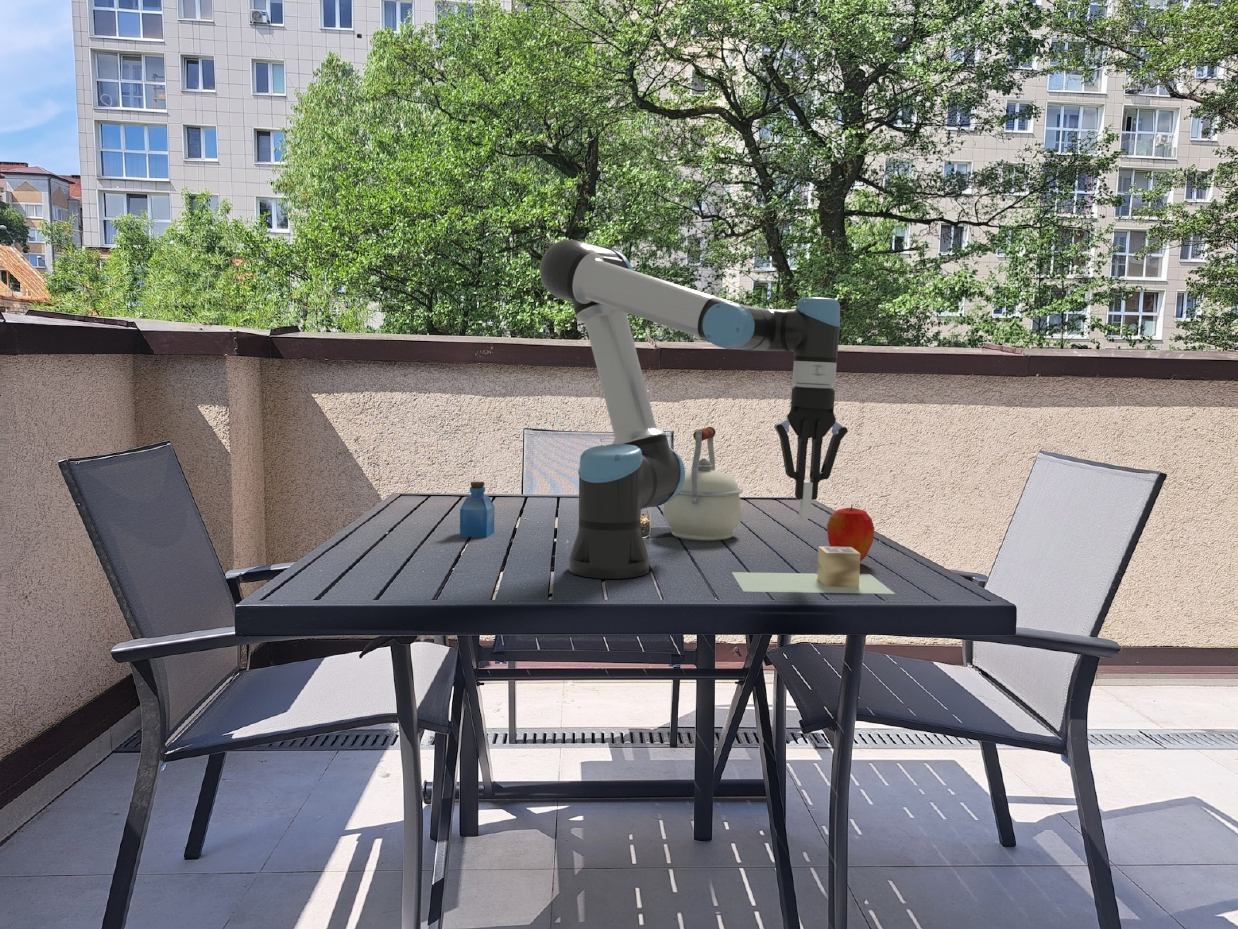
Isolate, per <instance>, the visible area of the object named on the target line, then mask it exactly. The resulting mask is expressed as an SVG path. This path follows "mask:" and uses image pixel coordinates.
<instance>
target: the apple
mask: <svg viewBox="0 0 1238 929" xmlns="http://www.w3.org/2000/svg"><path fill="white" fill-rule="evenodd" d="M826 531H827V532H826V533H827V540H828V544H829V547H852V548H854V549H855V550H856V551H858V552H859V553H860V563H861V562H862V561H863V560H864V559H865V558H866V557H867V555H868V553H869V551H870V549H871V547H872V544H873V543H874V536H875V534H874V533H875V526H874V523H873V519H872V518H871V516H870V515H869V514H868V512H867V511H866V510H864V509H859V508H856V507H853V504H852V503H851V507H846V508H844V507H843V508H841V509H837V510H836V511H835V512H833V513H832V514H831V515H830V517H829V519H828V522H827V524H826Z"/></svg>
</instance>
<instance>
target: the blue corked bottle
mask: <svg viewBox="0 0 1238 929" xmlns="http://www.w3.org/2000/svg"><path fill="white" fill-rule="evenodd" d="M485 492H486V487H485V481H470V487H469V493H470V495H469V496H467V497H466V498H465V499H464V501H463V503H462V505H461V506H460V509H459V537H464V538H465V537H468V538H484V537H485V539H486V538H489V537H490V536H492V535H493V534H495V505H494V502H492V500H491V498H490V496H489V495H485Z"/></svg>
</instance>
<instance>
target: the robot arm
mask: <svg viewBox="0 0 1238 929" xmlns="http://www.w3.org/2000/svg"><path fill="white" fill-rule="evenodd" d="M539 265H540V266H539V274H540V279H541V282H542V284H543V286H544V288H545V289H546V290H547V292H549V293H550V295H552V296H554V297H556V298H558V299H561V300H564V301H568V302H571V303H572V307H573V311H574V314H575V318H576V320H578V321H579V322H581V323H583V324H584V325H585V327H586V331H587V334H588V339H589V343H590V347H591V350H592V353H593V359H594V363H595V366H596V370H597V373H598V378H599V381H600V386H601V389H602V393H603V397H604V401H605V404H606V409H607V413H608V416H609V419H610V424H611V428H612V433H613V436H614V439H613V442H612V443H609V444H606V445H596V446H593V447H590V448H587V449H585V450H584V451H583V452H581V454H580V457H579V466H578V474H577V475H578V530H577V533H576V536H575V539H574V543H573V545H572V548H571V552H570V555H569V557H568V558H569V559H568V572H570V573H571V574H573V575H576V576H581V577H587V578H592V579H604V580H605V579H607V580H608V579H609V580H610V579H611V580H613V579H615V580H616V579H617V580H619V579H630V578H637V577H641V576H644V575H647V574H648V573H649V572H650V571H649V570H650V558H649V554H648V552H647V548H646V545H645V543H644V542H645V541H644V538H643V535H642V530H641V524H642V523H641V520H642V518H641V517H642V514H641V512H642V510H643V509H648V508H655V507H660V506H662V505H663V506H664V503H666V502H669V501H670V500H672V499H673V498H675V497H676V496H677V495H678V493H679V492H680V490H681V488H682V486H683V484H684V480H685V471H686V468H685V467H686V466H685V464H684V462H683V459H682V457H681V455H679V453H677V452H676V451H675V450H674V449H672V448H671V447H670V445H669V440H668V437H667V433H666V432H664V431H663V430H661V429H659V428H658V427H657V425H656V420H655V417H654V414H653V409H652V406H651V402H650V397H649V393H648V390H647V387H646V382H645V379H644V376H643V371H642V368H641V367H642V366H641V364H640V361H639V356H638V353H637V352H638V351H637V347H636V345H635V341H634V338H633V333H632V329H631V326H630V322H629V317H628V314H629V315H631V316H635V317H638V318H641V319H645V320H647V321H650V322H654V323H656V324H659V325H661V326H662V325H663V326H665V327H669V328H670V329H674V330H676V331H679V332H682V333H683V332H684V333H685V334H689V335H692V336H695V337H698V338H700V339H703V340H704V341H705V340H706V341H708V342H710V343H711V344H712V345H714V346H716V347H718V348H723V349H725V350H736V349H737V350H742V351H746V352H747V351H748V352H758V351H759V352H761V351H762V352H763V351H764V352H791V353H792V352H793V354H794V355H793V366H792V367H793V368H792V384H795V386H793V387H792V388H791V397H790V410H789V412H788V414H787V417H786V419H785V420H783V421H781V422H780V423H775V424H774V427H773V428H774V429H775V431H776V433H777V434H778V436H779V441H780V442H779V443H780V447H781V448H780V449H781V453H782V454H781V455H782V458H783V464H784V472H785V475H786V476H787V477H788V478H791V479H794V481H795V484H794V486H795V488H794V489H795V490H794V496H795V499H797V500H799V510H798V513H799V514H798V516H799V517H800V518H801V519H806V520H807V519H810V520H811V515H812V514H811V513H812V501H817V500H818V499H817V498H818V495H819V494H818V492H819V483H820V482H821V481H824V480H828V479H829V478H830V476H831V472H832V470H833V468H834V464H835V460H836V457H837V454H838V450H839V448H840V444H841V441H842V439H843V438H844V437H845V436H846V434H847V433H848V431H849V430H848V428H847V427H846V426H843V425H841V424H840V423H838V422H837V418H836V416H835V413H834V410H835V409H834V408H835V395H836V390H835V388H832V386H835V385H836V383H837V382H836V380H837V363H838V350H839V349H838V348H839V342H840V341H839V339H840V331H841V330H840V328H841V305H840V302H839V301H838V300H837V299H836V298H830V297H801V298H799V300H798V301H797V305H796V308H793V309H780V308H779V309H775V308H762V307H756V306H752V305H751V306H750V305H745V304H741V303H737V302H734V301H731V300H727V299H725V298H721V297H717V296H714V295H711V294H708V293H705V292H701V291H699V290H695V289H692V288H690V287H686V286H683V285H679V284H676V283H673V282H671V281H667V280H664V279H661V278H657V277H654V276H651V275H649V274H645V273H643V272H639V271H635V270H633V267H632V264H631V263H630V261H629V260H628V258H627V257H626V256H625V255H624V254H622V253H621V252H619V251H618V250H615V249H613V248H611V247H609V246H606V245H605V246H604V245H595V244H593V243H592V244H591V243H588V242H583V241H580V240H576V239H563V240H560V241H557V242H555V243H554V244H552V245H551V246H549V248H548V249H547V250H546V251H545V253H544V254H543V256H542V258H541V259H540V264H539ZM790 427H791V428H792V430H793V431H794V433H795V435H796V436H797V452H796V463H795V464H796V465H795V464H794V460H793V454H792V449H791V443H790V438H789V435H788V433H789V432H790ZM830 430H831V434H832V436H831V438H830V441H829V444H828V447H827V450H826V453H825V456H824V460H823V463H822V465H821V459H822V458H821V457H822V446H823V441H824V437H825V436H826V435H827V434H828V432H829V431H830ZM809 439H811V451H810V452H811V454H810V467H809V468H810V469H809V480H805V479H806V468H807V467H806V466H807V454H808V452H807V451H808V443H809ZM794 465H795V467H794Z"/></svg>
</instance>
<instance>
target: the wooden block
mask: <svg viewBox="0 0 1238 929" xmlns="http://www.w3.org/2000/svg"><path fill="white" fill-rule="evenodd" d="M817 547H818V550H817V552H818V553H817V572H816V574H817V579H818V580H819V581H820V582H821V583H822V584H823V585H824V586H825V587H859V575H860V574H861V573H860V572H861V570H860V569H861V562H860V553H859V552H858V551H856V550H855V549H854V548H852V547H830V546H817Z"/></svg>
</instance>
